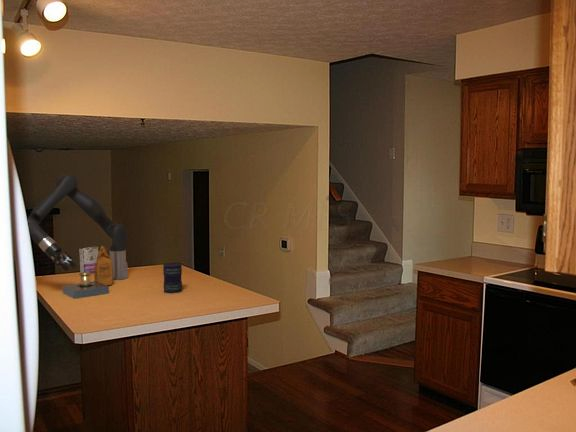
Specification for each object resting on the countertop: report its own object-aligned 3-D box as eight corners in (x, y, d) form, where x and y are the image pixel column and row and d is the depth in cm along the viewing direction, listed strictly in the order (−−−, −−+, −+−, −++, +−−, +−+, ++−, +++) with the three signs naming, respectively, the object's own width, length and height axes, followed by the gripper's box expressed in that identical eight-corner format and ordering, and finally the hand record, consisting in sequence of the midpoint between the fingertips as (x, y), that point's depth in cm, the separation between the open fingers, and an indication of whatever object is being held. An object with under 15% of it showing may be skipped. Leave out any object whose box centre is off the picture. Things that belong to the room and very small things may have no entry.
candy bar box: (95, 271, 348) (94, 246, 346) (99, 272, 345) (99, 247, 343) (79, 273, 339) (78, 248, 338) (84, 274, 336) (83, 248, 334)
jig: (95, 288, 296) (95, 281, 296) (109, 293, 282) (108, 286, 282) (62, 292, 284) (62, 285, 284) (74, 298, 271) (74, 291, 270)
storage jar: (177, 293, 282) (177, 266, 280) (160, 293, 284) (159, 265, 282) (185, 289, 291) (184, 262, 290) (168, 289, 293) (167, 262, 292)
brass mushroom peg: (88, 289, 287) (88, 271, 286) (92, 291, 283) (92, 272, 282) (78, 291, 283) (77, 272, 283) (82, 293, 279) (81, 274, 278)
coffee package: (111, 282, 313) (110, 245, 311) (114, 286, 301) (113, 247, 300) (93, 283, 309) (92, 245, 307) (95, 287, 297) (94, 248, 296)
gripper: (47, 243, 275) (70, 265, 275) (61, 240, 289) (82, 261, 289) (38, 253, 276) (60, 275, 276) (52, 249, 290) (73, 270, 290)
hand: (71, 268), depth 283 cm, fingers open, 8 cm apart
